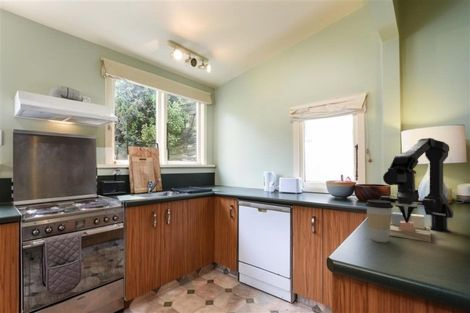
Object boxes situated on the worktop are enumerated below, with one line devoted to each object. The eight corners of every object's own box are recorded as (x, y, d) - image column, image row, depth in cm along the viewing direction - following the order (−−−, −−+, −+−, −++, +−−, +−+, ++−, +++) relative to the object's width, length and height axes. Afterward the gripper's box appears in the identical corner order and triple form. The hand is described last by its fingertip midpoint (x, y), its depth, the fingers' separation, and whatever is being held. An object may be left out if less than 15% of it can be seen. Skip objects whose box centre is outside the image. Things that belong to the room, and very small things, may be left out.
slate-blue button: (392, 223, 111) (392, 212, 111) (404, 224, 108) (404, 213, 108) (391, 224, 107) (391, 213, 108) (404, 226, 104) (403, 214, 105)
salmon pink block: (400, 232, 102) (400, 220, 102) (414, 234, 99) (413, 222, 100) (400, 234, 99) (399, 222, 99) (413, 236, 96) (413, 224, 96)
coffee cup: (368, 235, 100) (367, 198, 100) (395, 239, 94) (394, 200, 94) (363, 240, 92) (362, 201, 93) (392, 245, 86) (391, 203, 87)
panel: (389, 227, 113) (388, 222, 113) (430, 232, 104) (429, 227, 104) (384, 234, 101) (384, 228, 101) (430, 241, 91) (430, 235, 91)
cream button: (411, 225, 106) (411, 213, 107) (424, 226, 104) (424, 215, 104) (411, 227, 103) (410, 215, 103) (424, 228, 100) (424, 216, 100)
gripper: (376, 184, 100) (377, 222, 99) (435, 186, 88) (437, 230, 87) (380, 183, 108) (381, 218, 108) (434, 185, 97) (435, 224, 96)
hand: (406, 222), depth 99 cm, fingers closed, pressing on salmon pink block
